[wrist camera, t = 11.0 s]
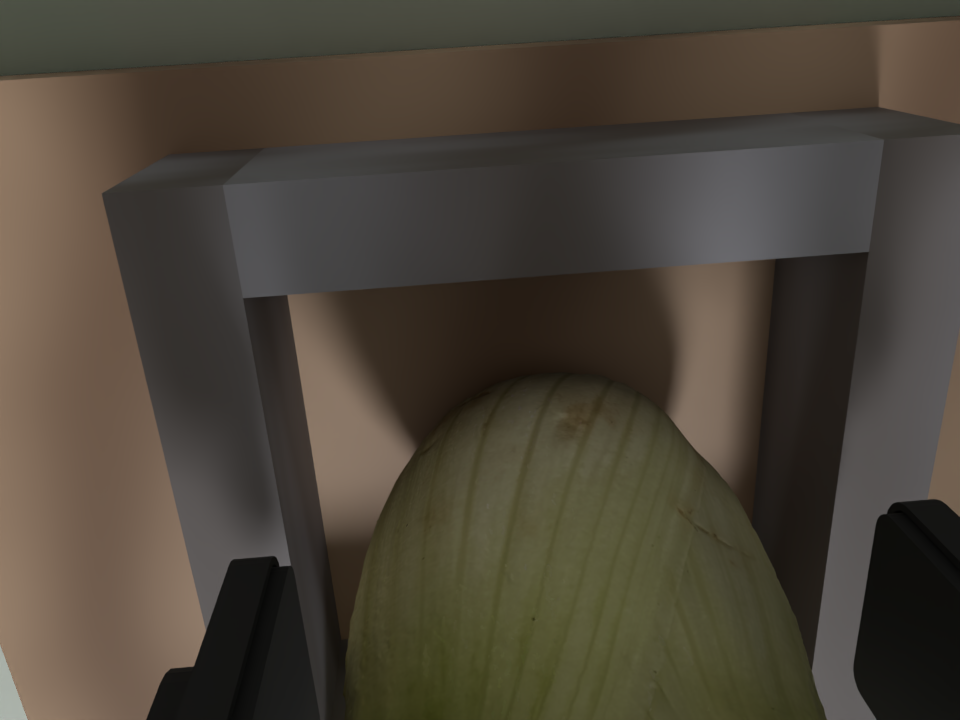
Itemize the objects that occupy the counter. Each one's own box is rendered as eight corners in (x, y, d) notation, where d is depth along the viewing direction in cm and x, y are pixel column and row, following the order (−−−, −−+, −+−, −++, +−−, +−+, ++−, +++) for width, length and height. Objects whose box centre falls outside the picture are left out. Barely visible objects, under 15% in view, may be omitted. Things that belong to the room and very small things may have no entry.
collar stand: (1134, 4, 15) (1418, 3, 10) (986, 627, 20) (1132, 787, 16) (-141, 84, 14) (-382, 117, 10) (72, 712, 19) (-24, 905, 15)
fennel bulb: (348, 495, 16) (171, 1658, 5) (467, 278, 14) (605, 1314, 3) (605, 597, 17) (911, 1672, 6) (741, 410, 15) (1491, 1445, 5)
